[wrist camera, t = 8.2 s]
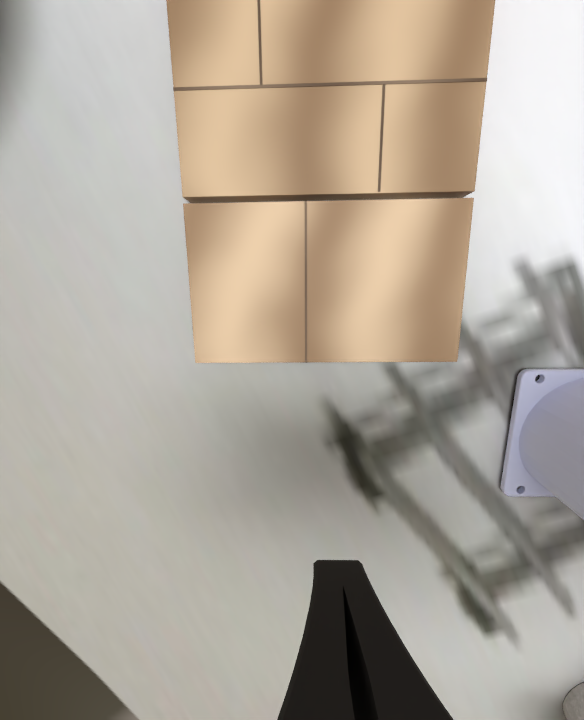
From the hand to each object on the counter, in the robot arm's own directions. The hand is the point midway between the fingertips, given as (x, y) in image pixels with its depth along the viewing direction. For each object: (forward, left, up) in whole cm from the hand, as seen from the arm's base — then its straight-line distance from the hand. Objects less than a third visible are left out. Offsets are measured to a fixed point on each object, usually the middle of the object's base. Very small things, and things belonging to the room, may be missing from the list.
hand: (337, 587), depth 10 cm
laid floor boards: (0, -18, -10) cm, 20 cm away
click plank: (0, -9, -10) cm, 13 cm away
